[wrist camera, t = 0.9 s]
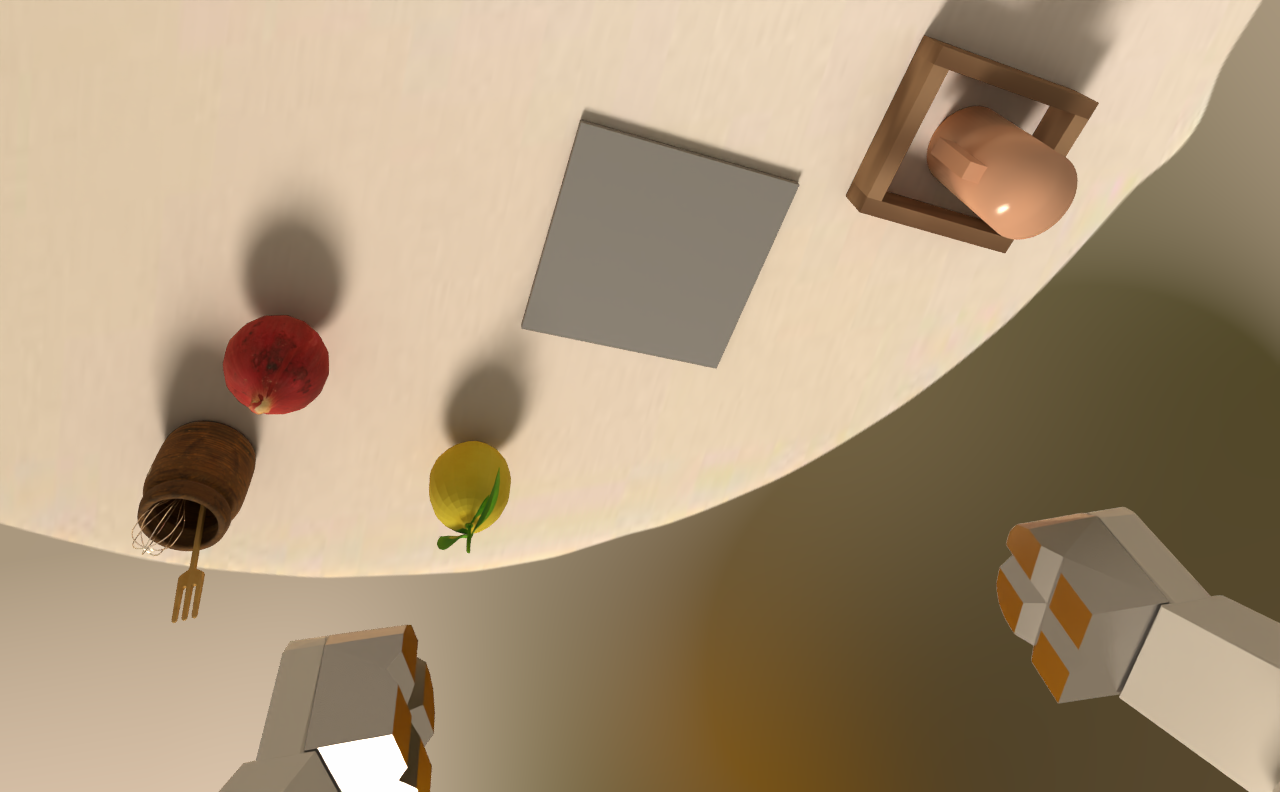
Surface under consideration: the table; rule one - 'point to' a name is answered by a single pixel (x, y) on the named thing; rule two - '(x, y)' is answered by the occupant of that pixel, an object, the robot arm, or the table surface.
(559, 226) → the mat
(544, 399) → the table surface
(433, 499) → the lemon
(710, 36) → the table surface
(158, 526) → the utensil holder
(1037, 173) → the capsule with tab
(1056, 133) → the brown wooden frame
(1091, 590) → the robot arm
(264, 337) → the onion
